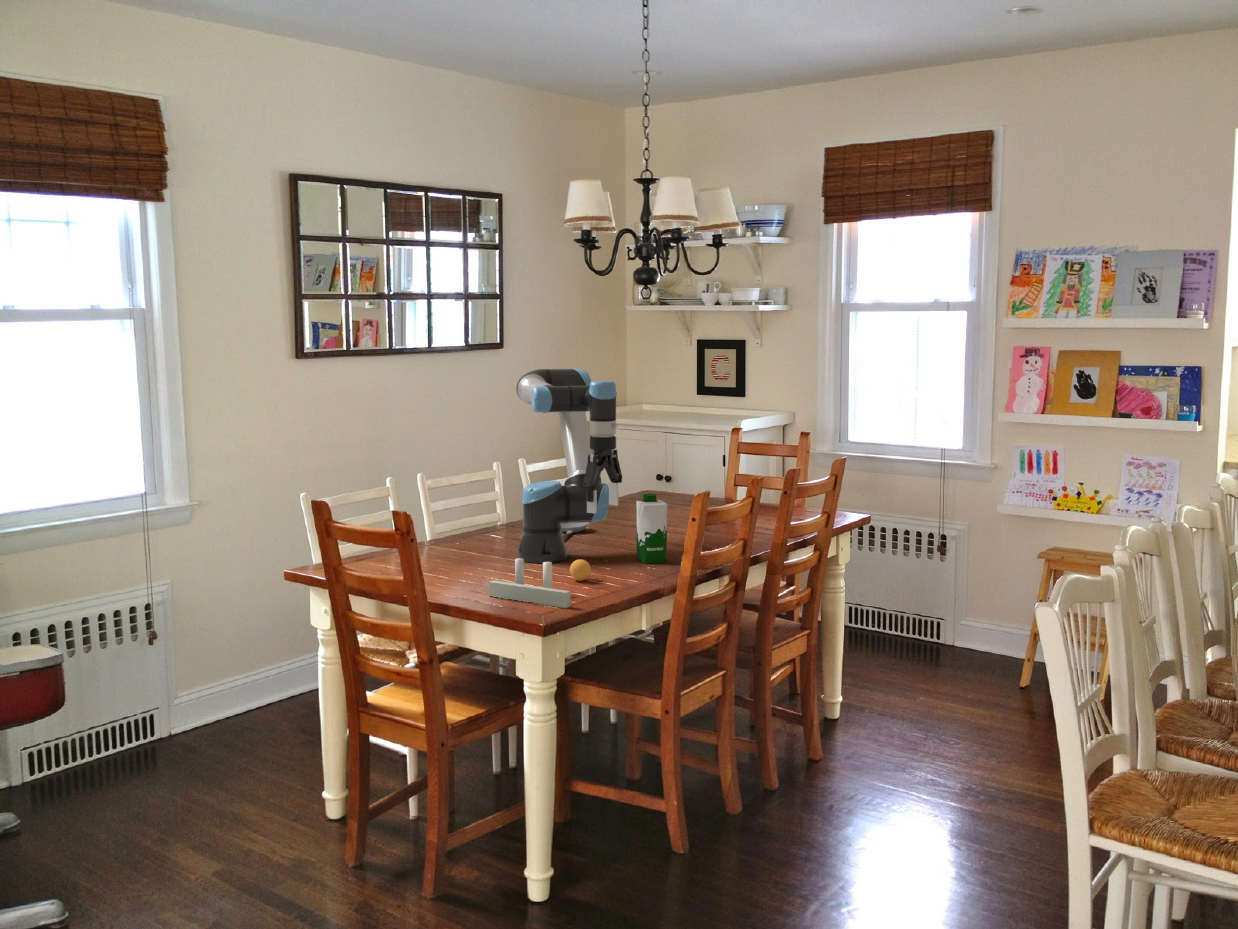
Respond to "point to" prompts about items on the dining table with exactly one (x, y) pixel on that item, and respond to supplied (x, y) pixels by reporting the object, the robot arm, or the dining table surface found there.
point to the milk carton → (651, 529)
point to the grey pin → (519, 571)
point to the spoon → (572, 528)
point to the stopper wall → (530, 594)
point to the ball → (580, 570)
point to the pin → (547, 575)
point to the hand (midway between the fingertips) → (602, 509)
